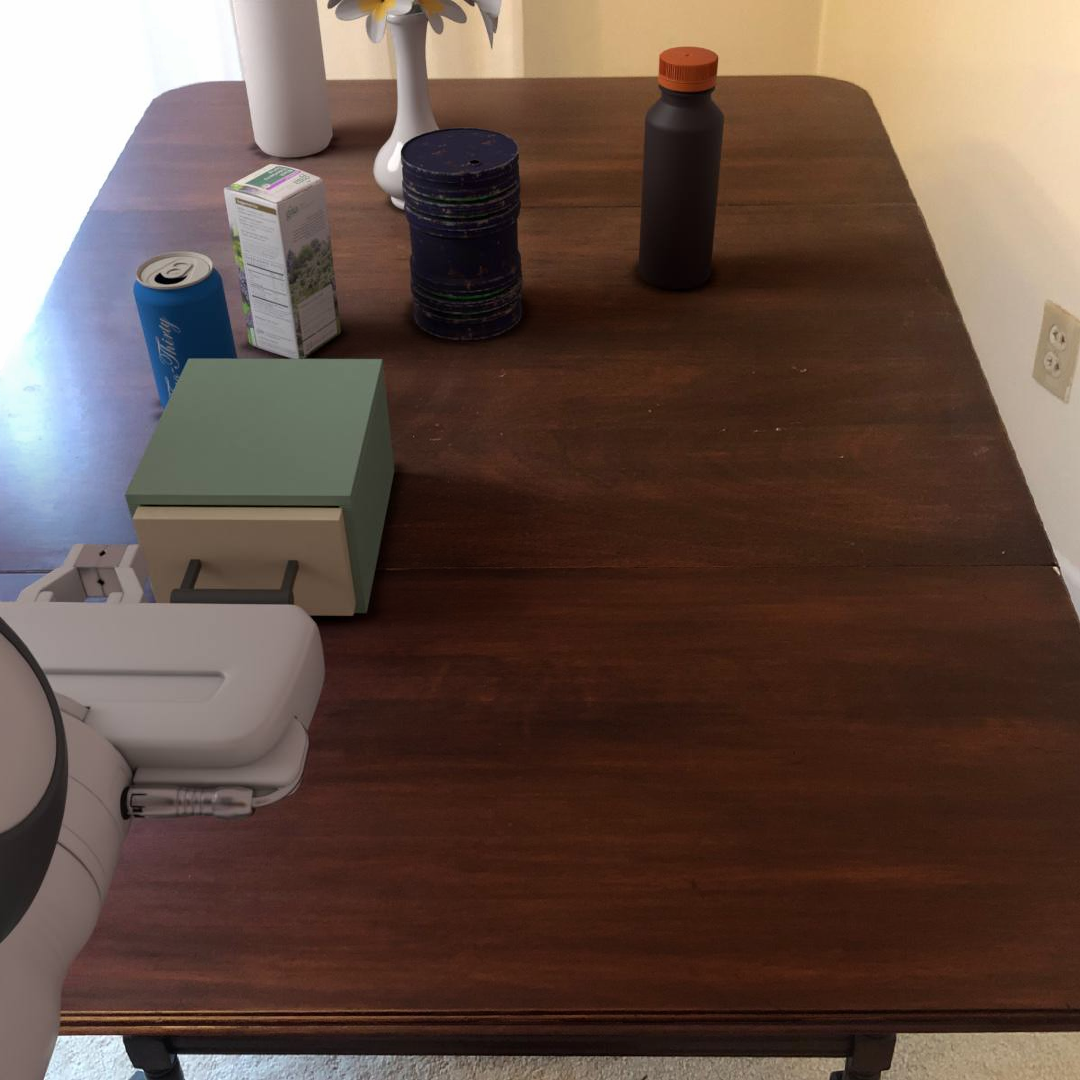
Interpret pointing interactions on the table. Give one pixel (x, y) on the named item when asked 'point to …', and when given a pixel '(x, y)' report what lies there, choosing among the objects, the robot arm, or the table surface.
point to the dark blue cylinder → (463, 231)
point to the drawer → (248, 555)
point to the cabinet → (277, 445)
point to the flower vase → (409, 67)
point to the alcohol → (284, 75)
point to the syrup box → (284, 260)
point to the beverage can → (181, 315)
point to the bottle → (681, 171)
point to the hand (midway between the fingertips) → (113, 555)
